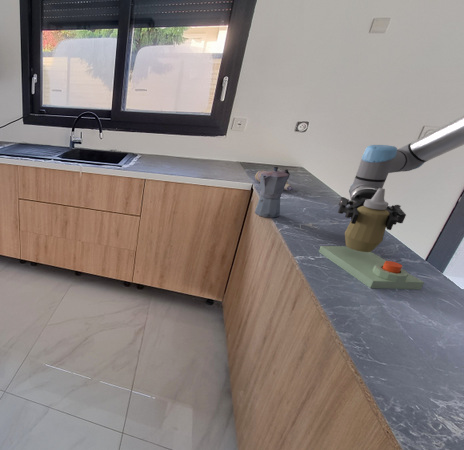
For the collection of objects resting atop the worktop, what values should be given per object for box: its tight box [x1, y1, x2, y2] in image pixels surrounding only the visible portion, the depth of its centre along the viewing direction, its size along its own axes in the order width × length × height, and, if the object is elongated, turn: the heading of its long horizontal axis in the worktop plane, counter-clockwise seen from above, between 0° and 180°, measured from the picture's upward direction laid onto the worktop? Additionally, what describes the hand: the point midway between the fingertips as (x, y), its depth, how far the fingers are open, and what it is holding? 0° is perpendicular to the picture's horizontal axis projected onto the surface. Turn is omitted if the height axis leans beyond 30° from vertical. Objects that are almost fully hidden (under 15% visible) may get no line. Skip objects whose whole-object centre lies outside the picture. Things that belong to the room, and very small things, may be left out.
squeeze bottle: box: [344, 187, 390, 252], centre depth 87 cm, size 8×8×18 cm
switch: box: [382, 260, 403, 273], centre depth 80 cm, size 3×3×2 cm
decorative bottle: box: [254, 169, 294, 191], centre depth 162 cm, size 26×8×7 cm, turn 179°
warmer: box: [318, 245, 425, 290], centre depth 88 cm, size 12×20×4 cm, turn 175°
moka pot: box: [254, 166, 291, 219], centre depth 125 cm, size 10×15×20 cm, turn 117°
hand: (372, 222), depth 83 cm, fingers closed on squeeze bottle, 6 cm apart
